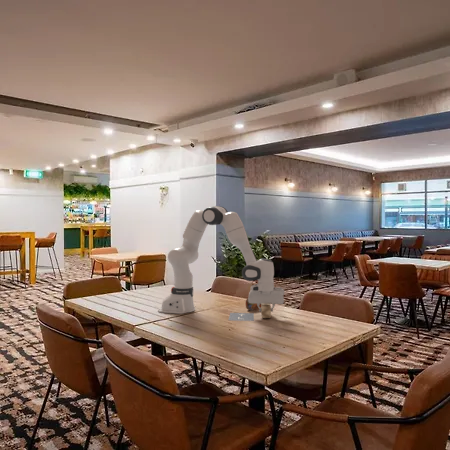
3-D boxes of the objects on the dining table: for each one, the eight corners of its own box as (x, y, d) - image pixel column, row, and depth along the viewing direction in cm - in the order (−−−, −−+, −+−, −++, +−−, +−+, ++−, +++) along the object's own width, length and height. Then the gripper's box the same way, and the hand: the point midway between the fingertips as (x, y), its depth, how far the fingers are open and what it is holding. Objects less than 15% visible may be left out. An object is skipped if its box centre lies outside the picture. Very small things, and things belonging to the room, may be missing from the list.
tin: (248, 311, 245) (248, 297, 245) (244, 310, 247) (244, 297, 247) (265, 308, 254) (265, 295, 254) (262, 307, 257) (262, 294, 257)
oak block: (261, 317, 225) (261, 307, 225) (261, 312, 237) (261, 302, 237) (270, 317, 224) (270, 307, 224) (269, 312, 236) (269, 302, 236)
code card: (228, 320, 223) (228, 320, 223) (230, 313, 241) (230, 312, 241) (253, 321, 222) (253, 320, 222) (253, 313, 240) (253, 313, 240)
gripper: (283, 286, 233) (283, 310, 233) (248, 285, 234) (248, 309, 234) (284, 288, 226) (284, 312, 227) (248, 287, 228) (248, 312, 228)
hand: (265, 311), depth 230 cm, fingers closed on oak block, 5 cm apart
